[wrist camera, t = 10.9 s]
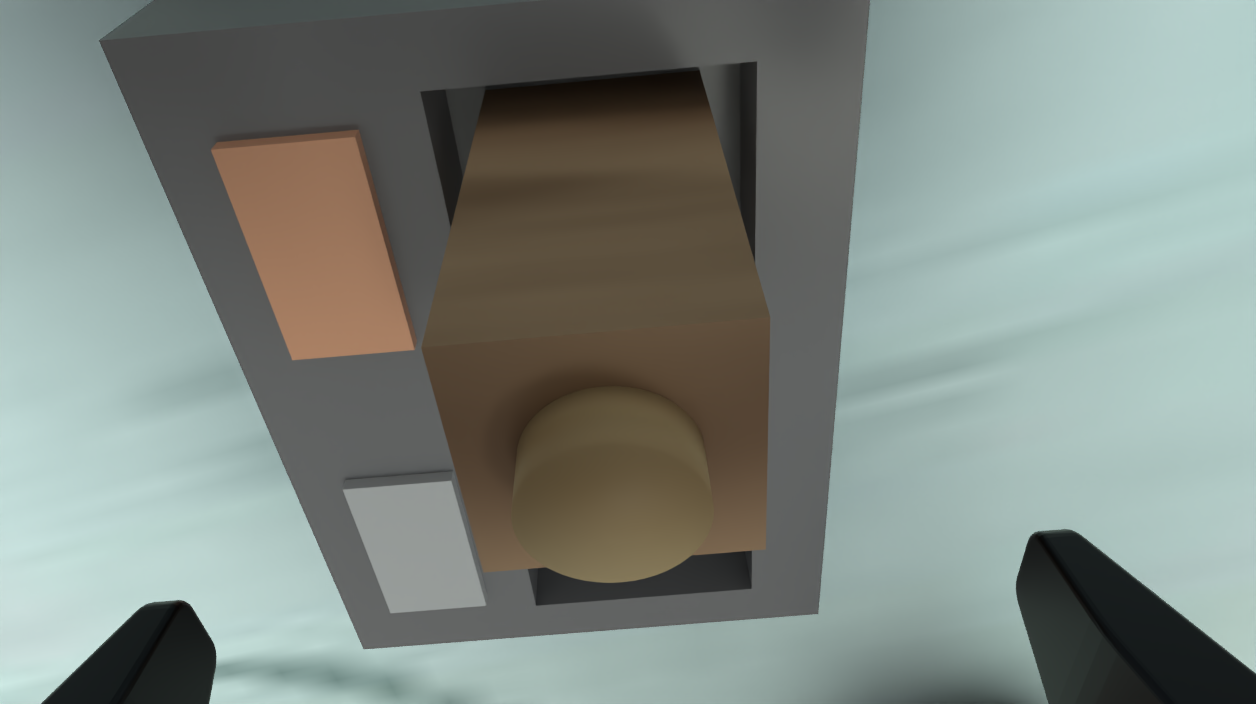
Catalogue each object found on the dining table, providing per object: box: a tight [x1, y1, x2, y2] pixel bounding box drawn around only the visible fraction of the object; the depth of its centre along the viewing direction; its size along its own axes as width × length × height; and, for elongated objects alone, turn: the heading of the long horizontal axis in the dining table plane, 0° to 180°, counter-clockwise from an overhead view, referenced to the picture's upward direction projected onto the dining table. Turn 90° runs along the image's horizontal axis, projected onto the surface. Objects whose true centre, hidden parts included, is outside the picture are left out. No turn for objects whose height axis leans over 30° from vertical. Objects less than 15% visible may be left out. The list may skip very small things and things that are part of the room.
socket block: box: [99, 0, 870, 649], centre depth 20 cm, size 16×12×3 cm
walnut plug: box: [421, 70, 770, 583], centre depth 14 cm, size 4×4×9 cm
